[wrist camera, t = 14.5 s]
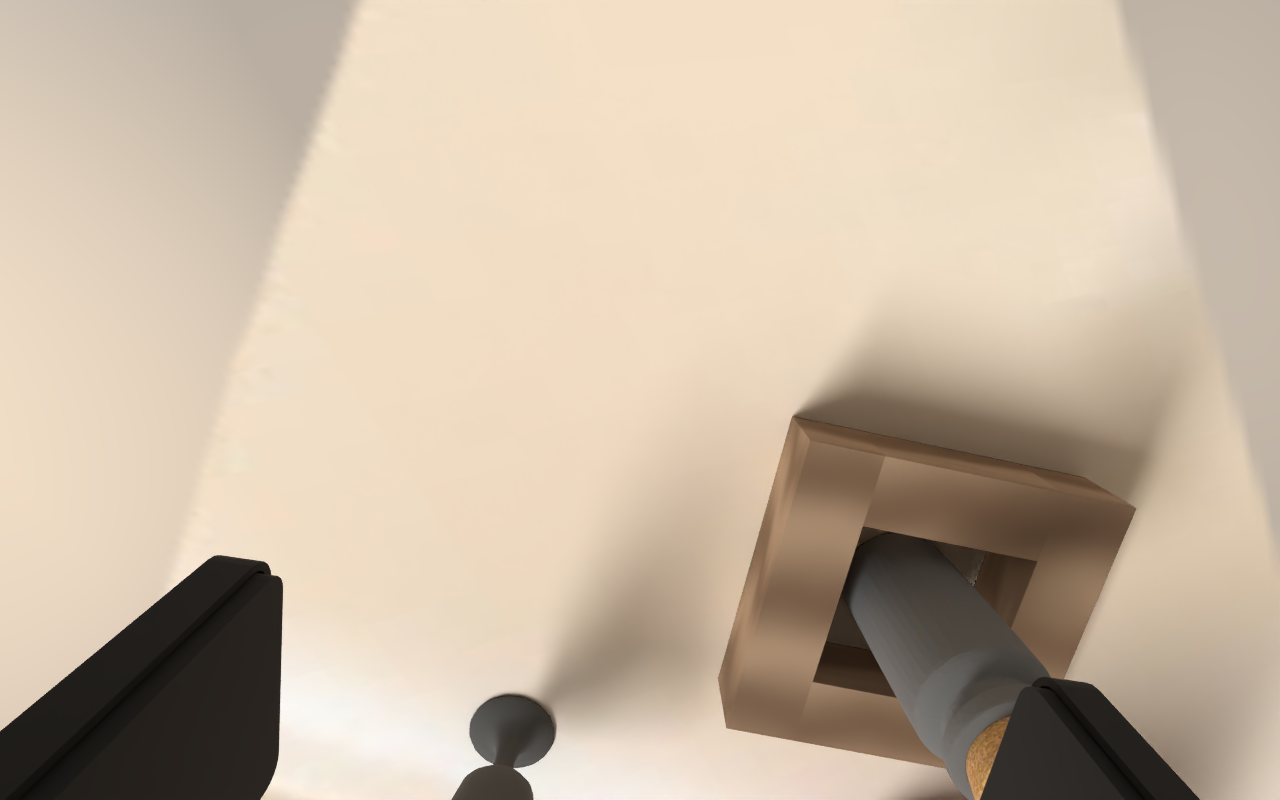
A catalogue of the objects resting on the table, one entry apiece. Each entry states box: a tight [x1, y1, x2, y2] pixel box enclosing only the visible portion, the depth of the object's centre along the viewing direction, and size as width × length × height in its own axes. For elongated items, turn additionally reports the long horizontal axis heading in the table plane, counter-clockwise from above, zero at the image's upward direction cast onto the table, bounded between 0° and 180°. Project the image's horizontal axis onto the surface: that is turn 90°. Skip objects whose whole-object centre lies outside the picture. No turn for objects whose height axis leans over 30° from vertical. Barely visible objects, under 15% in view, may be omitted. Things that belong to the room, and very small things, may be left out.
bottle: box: [843, 533, 1050, 800], centre depth 31 cm, size 6×6×15 cm
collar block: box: [718, 416, 1136, 768], centre depth 37 cm, size 16×16×4 cm
